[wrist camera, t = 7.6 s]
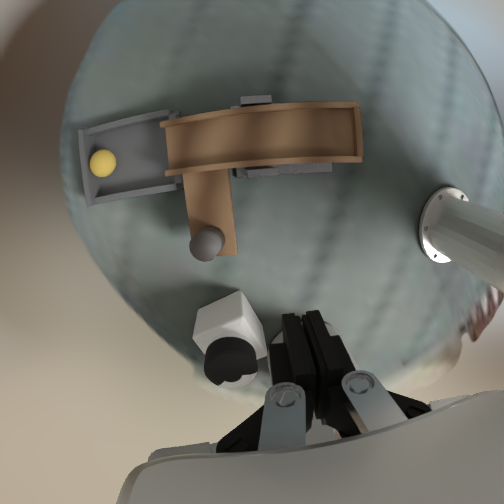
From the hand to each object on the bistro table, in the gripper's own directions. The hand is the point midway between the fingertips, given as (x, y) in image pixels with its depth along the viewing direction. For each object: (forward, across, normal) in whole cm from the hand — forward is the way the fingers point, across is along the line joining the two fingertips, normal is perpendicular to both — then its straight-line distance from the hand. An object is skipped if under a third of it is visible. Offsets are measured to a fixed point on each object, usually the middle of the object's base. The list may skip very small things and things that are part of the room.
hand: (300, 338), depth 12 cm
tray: (+24, +16, -10) cm, 30 cm away
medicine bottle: (+25, +6, +14) cm, 29 cm away
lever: (+19, 0, -5) cm, 20 cm away
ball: (+22, +19, -10) cm, 31 cm away
